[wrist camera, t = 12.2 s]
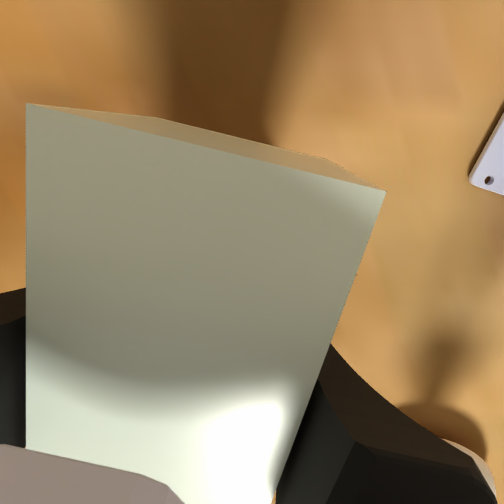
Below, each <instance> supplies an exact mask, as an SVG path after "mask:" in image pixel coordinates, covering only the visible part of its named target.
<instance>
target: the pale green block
mask: <svg viewBox="0 0 504 504" xmlns="http://www.w3.org/2000/svg"><path fill="white" fill-rule="evenodd" d="M386 192H387V191H385V190H383V189H381V188H379V187H377V186H376V185H374V184H372V183H370V182H368V181H366V180H364V179H363V178H361V177H359V176H357V175H355V174H353V173H351V172H350V171H348V170H346V169H344V168H342V167H340V166H338V165H337V164H335V163H333V162H331V161H329V160H327V159H324V158H320V157H316V156H312V155H308V154H304V153H300V152H296V151H292V150H288V149H284V148H280V147H276V146H272V145H268V144H264V143H260V142H255V141H251V140H247V139H243V138H239V137H235V136H231V135H227V134H223V133H219V132H215V131H211V130H207V129H203V128H199V127H195V126H191V125H187V124H183V123H178V122H174V121H170V120H166V119H162V118H158V117H151V116H141V115H132V114H123V113H114V112H105V111H95V110H86V109H77V108H68V107H58V106H49V105H40V104H31V103H26V449H29V450H34V451H38V452H43V453H48V454H52V455H57V456H61V457H66V458H70V459H75V460H80V461H84V462H89V463H93V464H98V465H102V466H107V467H112V468H116V469H121V470H125V471H130V472H134V473H139V474H142V475H145V476H147V477H150V478H152V479H154V480H157V481H159V482H162V483H164V484H167V485H168V486H169V487H170V488H171V489H172V490H173V491H174V492H175V493H176V494H177V495H178V496H179V497H180V498H181V499H182V500H183V501H184V503H185V504H271V502H272V499H273V496H274V494H275V491H276V488H277V486H278V483H279V480H280V477H281V475H282V472H283V469H284V467H285V464H286V461H287V459H288V456H289V453H290V451H291V448H292V445H293V442H294V440H295V437H296V434H297V432H298V429H299V426H300V424H301V421H302V418H303V415H304V413H305V410H306V407H307V405H308V402H309V399H310V397H311V394H312V391H313V389H314V386H315V383H316V380H317V378H318V375H319V372H320V370H321V367H322V364H323V362H324V359H325V356H326V354H327V351H328V348H329V345H330V343H331V340H332V337H333V335H334V332H335V329H336V327H337V324H338V321H339V318H340V316H341V313H342V310H343V308H344V305H345V302H346V300H347V297H348V294H349V292H350V289H351V286H352V283H353V281H354V278H355V275H356V273H357V270H358V267H359V265H360V262H361V259H362V256H363V254H364V251H365V248H366V246H367V243H368V240H369V238H370V235H371V232H372V230H373V227H374V224H375V221H376V219H377V216H378V213H379V211H380V208H381V205H382V203H383V200H384V197H385V195H386Z"/></svg>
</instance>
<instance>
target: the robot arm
mask: <svg viewBox="0 0 504 504" xmlns="http://www.w3.org/2000/svg"><path fill="white" fill-rule="evenodd" d="M488 176H490V181H489V182H488V183H486V184H485V182H484V181H485V178H486V177H488ZM469 182H470V183H471V184H472V185H474V186H477V187H480V188H483V189H486V190H489V191H492V192H495V193H498V194H501V195H504V113H503V114H502V116H501V118H500V120H499V122H498V124H497V125H496V127H495V129H494V131H493V133H492V134H491V136H490V138H489V140H488V142H487V144H486V145H485V147H484V149H483V151H482V153H481V155H480V156H479V158H478V160H477V162H476V164H475V165H474V167H473V169H472V171H471V173H470V175H469ZM25 446H26V288H22V289H18V290H14V291H10V292H5V293H0V504H185V503H184V501H183V500H182V499H181V498H180V497H179V496H178V495H177V494H176V493H175V492H174V491H173V490H172V489H171V488H170V487H169V486H168V485H167V484H164V483H162V482H159V481H157V480H154V479H152V478H150V477H147V476H145V475H142V474H139V473H134V472H130V471H125V470H121V469H116V468H112V467H107V466H102V465H98V464H93V463H89V462H84V461H80V460H75V459H70V458H66V457H61V456H57V455H52V454H48V453H43V452H38V451H34V450H29V449H25ZM276 504H497V500H496V497H495V495H494V493H493V492H492V490H491V488H490V486H489V485H488V483H487V481H486V480H485V478H484V476H483V475H482V473H481V471H480V469H479V468H478V466H477V464H476V463H475V461H474V459H473V458H472V457H471V456H469V455H468V454H466V453H464V452H463V451H461V450H459V449H458V448H456V447H454V446H453V445H451V444H449V443H448V442H446V441H444V440H443V439H441V438H439V437H438V436H436V435H434V434H433V433H431V432H430V431H428V430H427V429H425V428H424V427H422V426H421V425H419V424H418V423H416V422H415V421H414V420H412V419H411V418H409V417H408V416H407V415H405V414H404V413H402V412H401V411H400V410H398V409H397V408H396V407H395V406H393V405H392V404H391V403H390V402H388V401H387V400H386V399H385V398H383V397H382V396H381V395H380V394H379V393H377V392H376V391H375V390H374V389H373V388H372V387H371V386H370V385H369V384H368V383H366V382H365V381H364V380H363V379H362V378H361V377H360V376H359V375H358V374H357V373H356V372H355V371H354V370H353V369H352V368H351V367H350V366H349V364H348V363H347V362H346V361H345V360H344V359H343V358H342V357H341V355H340V354H339V353H338V352H337V351H336V350H335V348H334V347H333V346H332V345H331V343H330V345H329V348H328V351H327V354H326V356H325V359H324V362H323V364H322V367H321V370H320V372H319V375H318V378H317V380H316V383H315V386H314V389H313V391H312V394H311V397H310V399H309V402H308V405H307V407H306V410H305V413H304V415H303V418H302V421H301V424H300V426H299V429H298V432H297V434H296V437H295V440H294V442H293V445H292V448H291V451H290V453H289V456H288V459H287V461H286V464H285V467H284V469H283V472H282V475H281V477H280V480H279V483H278V486H277V488H276Z"/></svg>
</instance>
